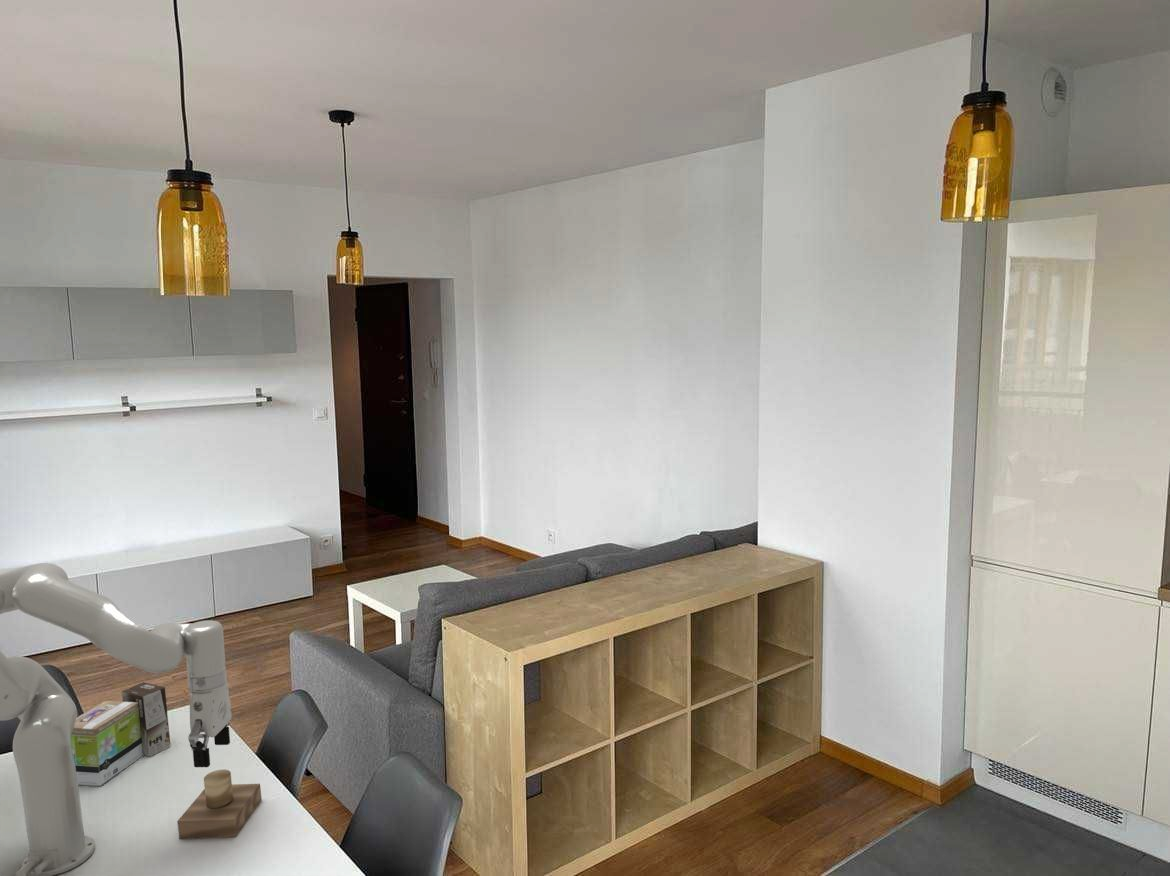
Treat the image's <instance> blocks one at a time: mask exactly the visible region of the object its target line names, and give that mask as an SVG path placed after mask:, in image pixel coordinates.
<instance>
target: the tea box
mask: <svg viewBox="0 0 1170 876" xmlns="http://www.w3.org/2000/svg"><path fill="white" fill-rule="evenodd" d="M71 747H72V752H73V756H74V761H75V767H76V774H77V780H78V786H90V787H91V786H92V787H101V786H102V785H104V784H105V783H106V782H108V781H109V780H110V779H112V778H113V777H115V776H116V775H117V774H119V773H120V772H122V771H123V770H124V769H126V768H127V767H129V766H130V765H132V764H134V763H135V762H136V761H138V760H139V759H141V758H142V757H143V756H144V755H143V749H142V739H141V730H140V719H139V707H138V702H123V701H118V700H117V701H116V700H115V701H113V700H104V701H102V702H101V703H99V704H97V705H95V706H94V707H92V708H90V709H89V710H87V711H85V712H84V713H81V714H80V715H77V719H76V722H75V725H74V728H73V731H72V734H71ZM137 759H138V760H137Z"/></svg>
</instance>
